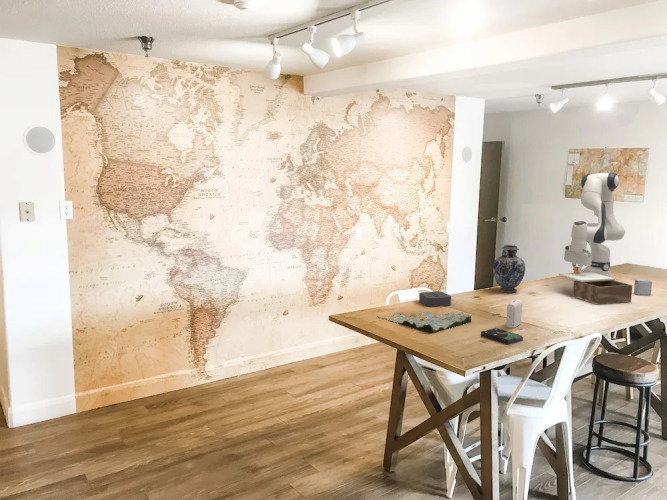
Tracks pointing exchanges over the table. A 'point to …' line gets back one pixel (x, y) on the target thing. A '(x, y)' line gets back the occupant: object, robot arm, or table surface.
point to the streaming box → (435, 299)
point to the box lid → (586, 276)
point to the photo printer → (514, 314)
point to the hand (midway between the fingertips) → (576, 270)
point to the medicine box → (642, 287)
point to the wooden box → (603, 292)
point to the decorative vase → (509, 269)
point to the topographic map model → (432, 321)
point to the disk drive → (502, 336)
